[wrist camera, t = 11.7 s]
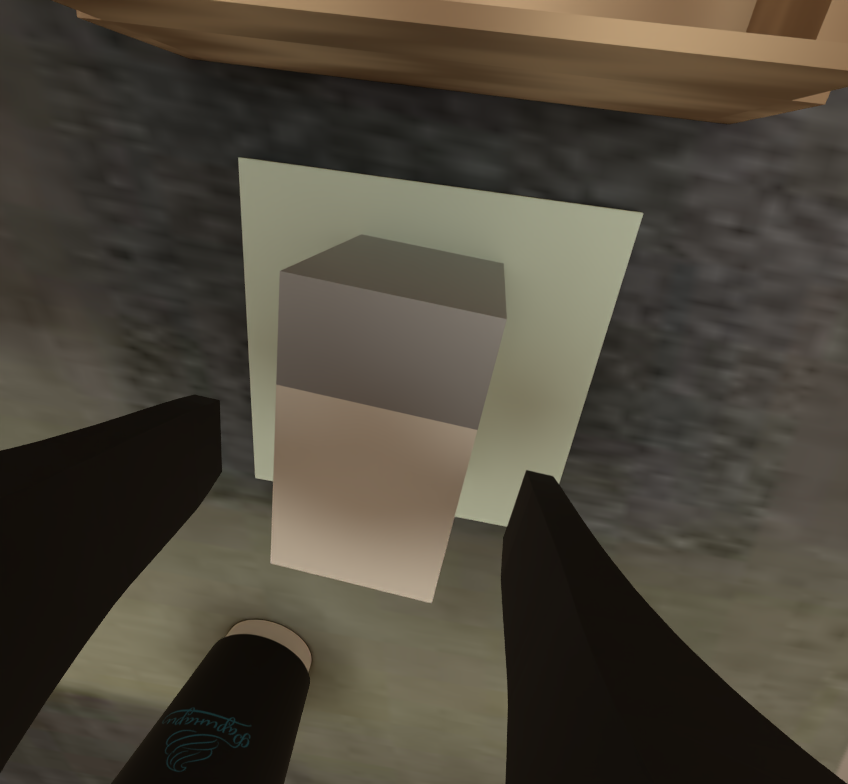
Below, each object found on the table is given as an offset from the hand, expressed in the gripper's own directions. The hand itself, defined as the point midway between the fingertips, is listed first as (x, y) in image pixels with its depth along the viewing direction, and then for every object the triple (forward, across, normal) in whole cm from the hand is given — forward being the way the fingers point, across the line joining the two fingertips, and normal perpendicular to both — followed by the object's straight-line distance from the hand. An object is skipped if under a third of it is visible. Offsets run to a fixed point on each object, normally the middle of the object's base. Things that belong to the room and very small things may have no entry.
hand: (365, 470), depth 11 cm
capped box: (+6, 0, 0) cm, 6 cm away
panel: (+7, 0, 0) cm, 7 cm away
